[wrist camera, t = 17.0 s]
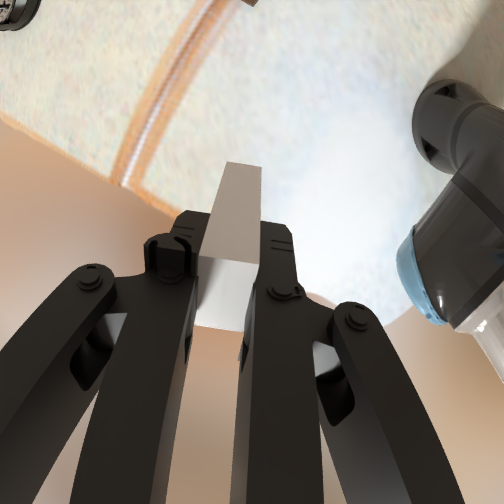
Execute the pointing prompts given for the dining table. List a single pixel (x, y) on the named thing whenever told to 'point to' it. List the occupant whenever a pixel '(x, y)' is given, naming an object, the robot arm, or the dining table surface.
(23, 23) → the french press
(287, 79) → the dining table surface
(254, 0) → the board
